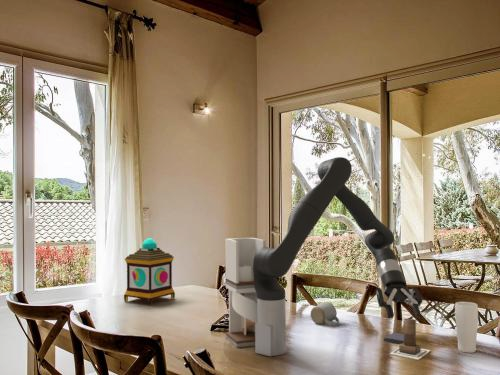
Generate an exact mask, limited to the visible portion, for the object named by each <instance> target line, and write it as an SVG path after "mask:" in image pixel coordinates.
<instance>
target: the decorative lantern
mask: <svg viewBox="0 0 500 375" xmlns="http://www.w3.org/2000/svg"><path fill="white" fill-rule="evenodd" d="M157 245H158V244H157V242H156V240H154V239H153V238H151V237H150V238H146V239H145V240H144V241H143V242H142V245H141V247H140V248H138V250H137V251H135V252H133V253H131V254H129V255H127V256H126V257H125V258H124V261H125V263H126V275H127V276H126V290H125V293H124V295H123V300H124V302H126V303H127V302H129V301H128V300H129V298H134V299H142V300H147V301H148V305H149V306H152V305H153V300H154V299H158V298H162V297H167V296H170V298H171V300H174V299H175V297H176V293H175V291H174V288H173V283H172V282H173V280H172V279H173V272H172V270H173V269H172V268H173V261H174V258H175V257H174V256H173V255H172V254H170V252H165V251H163V250H162V249H161V248H160V247H157Z"/></svg>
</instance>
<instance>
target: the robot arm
mask: <svg viewBox="0 0 500 375" xmlns="http://www.w3.org/2000/svg"><path fill="white" fill-rule="evenodd" d="M352 169H353V168H352V164H351V162H350V160H349V159H348V158H346V157H343V156H339V157H338V156H337V157H333V158H330V159H326V160H323V161H322V162H321V163H320V164H319V165H318V167H317V175H318V178H319V180H320V181H319V182H318V184H316V185H315V186H314V187H313V188H311V189H310V190H309V191H308V192H307V193H306V194H305V195H303V196H302V197H301V198H300V199H299V201H298V202H297V203H296V204H295V206H294V207H293V209H292V210H291V212H290V214H289V216H288V221H287V231H286V234H285V236H284V237H283V239H282V240H281V241H280V243H279V244H278V246H277V247H263V248H260V249H259V250H258V251H257V252H256V254H255V256H254V260H253V274H254V287H255V290H256V293H257V323H256V324H255V345H254V346H255V347H254V348H255V350H254V351H255V352H254V353H256V354H258V355H263V356H268V357H273V356H274V357H275V356H281V355H283V354H285V353H286V351H287V348H286V347H287V345H286V344H287V343H286V342H287V340H286V336H287V332H286V330H287V329H286V328H287V327H286V323H287V322H286V317H287V316H286V290H285V288H284V287H283V286H282V285H281V284H280V283H279V281H278V279H279V278H282V277H284V276H285V275H286V274H288V272H289V270H290V269H291V267H292V266H293V264H294V261H295V259H296V257H297V256H298V254H299V251H300V250H301V248H302V246H303V245H304V243H305V242H306V240H307V239H308V237H309V235H310V234H311V232H312V231H313V229H314V228H315V227H316V225H317V224H318V223H319V221H320V220H321V217H323V215H324V212H325V211H326V210H327V208H328V206H329V205H330V204H331V202H332V201H333V199H334V198H335V197H336V198H337V199H338V200H339V202H340V203H341V204H342V205H343V206H344V208H346V210H347V212H348V213H349V214H350V215H351V217H352V218H353V221H354V222H356V224H357V225H358V227H359V228H360V230H362V231H363V232H365V231H367V232H368V231H371V230H373V231H372V232H370V233H368V234H366V236H365V237H364V244H365V246H366V247H367V248H368V250H369V251H370V252H371V254H372V255H373V257H374V259H375V262H376V265H377V268H378V274H379V277H380V280H381V283H382V287H383V289H382V288H381V287H377V290H376V292H375V294H376V299H377V304H378V307H380V308H382V307H383V308H384V309H385V311H386V313H387V314H386V315H387V316H388V317H389V318H390V319H393V318H394V317H395V312H394V310H393V308H392V305H391V303H392V302H394V303H398V302H400V303H403V302H404V303H405V304H406V305H410V307H411V308H412V312H413V314H414V318H419V316H420V315H421V311H420V308H419V307H421V305H422V303H423V299H422V297H421V294H420V292H419V290H418V288H417V287H415V286H414V287H413V288H408V286H407V282H406V280H405V277H404V274H403V272H402V268H401V266H400V264H399V262H398V260H397V257H396V254H395V251H394V250H393V249H392V248H390V247H389V246H391V245H392V244H393V243H394V242H395V236H394V233H393V232H392V230H391V229H390V228H389V227H388V226H386V225H385V224H384V223H383V222H381V221H380V220H379V219H378V217H377V216H376V215H375V213H374V211H373V210H372V209H371V207H370V206H369V205H368V203H367V202H366V201H365V200H363V199H362V198H361V197H360V196H358V195H357V194H356V193H354V192H353V191H351V189H350V188H348V186H347V185H346V183H347V182H348V181H349V179H350V178H351V175H352V171H353V170H352ZM384 295H385V296H386V297H387V301H385V299H384Z"/></svg>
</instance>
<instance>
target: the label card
mask: <svg viewBox="0 0 500 375" xmlns="http://www.w3.org/2000/svg"><path fill="white" fill-rule="evenodd" d="M431 351H432V350H431V349H427V348H426V349H425V348H421V351H420V352H419V353H418V354H416V355H411V354H406V353H401V352H399V347H397V348H396V349H395V350H393V351H391V352H390V353H389V355H390V356H395V357H400V358H406V359H411V360H415V361H419V360H421V359H422V358H423V357H425V356H426V355H427V354H429V353H430V352H431Z"/></svg>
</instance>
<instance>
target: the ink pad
mask: <svg viewBox="0 0 500 375" xmlns="http://www.w3.org/2000/svg"><path fill="white" fill-rule="evenodd" d="M383 342H386V343H387V342H388V343H392V342H393V343H394V344H397V345H400V344H402V343H404V333H399V332H392V333H390V334H389V335H387V336H386V337H383Z"/></svg>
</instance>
